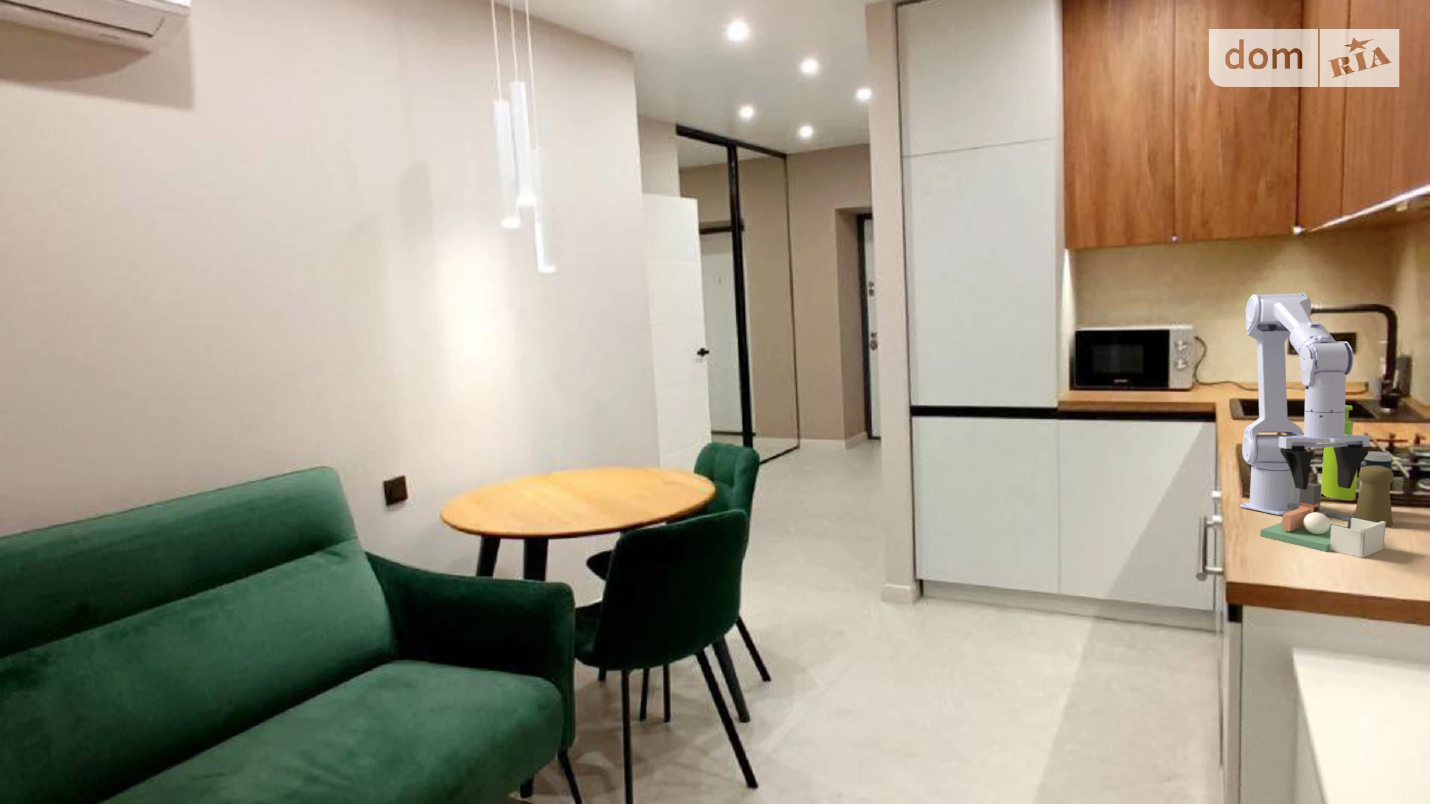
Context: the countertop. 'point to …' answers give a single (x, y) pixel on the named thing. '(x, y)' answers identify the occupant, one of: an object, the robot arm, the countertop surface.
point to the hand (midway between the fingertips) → (1322, 488)
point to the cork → (1375, 495)
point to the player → (1302, 507)
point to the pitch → (1299, 536)
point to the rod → (1327, 514)
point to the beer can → (1376, 461)
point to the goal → (1358, 538)
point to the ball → (1316, 523)
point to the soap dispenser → (1336, 469)
